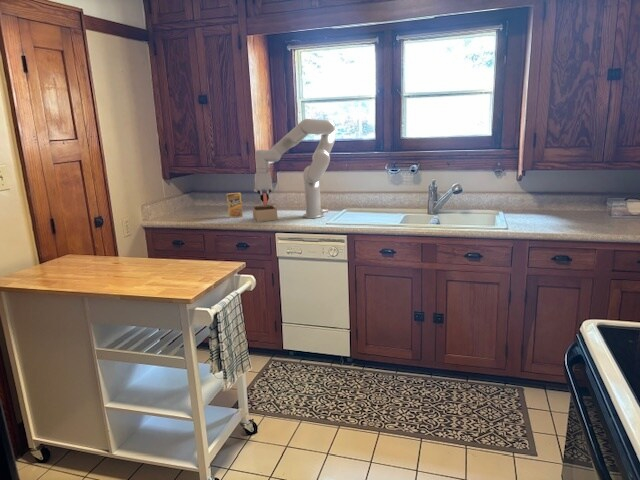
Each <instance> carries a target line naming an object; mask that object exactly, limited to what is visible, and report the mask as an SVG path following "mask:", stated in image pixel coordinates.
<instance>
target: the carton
mask: <svg viewBox="0 0 640 480" xmlns="http://www.w3.org/2000/svg"><path fill="white" fill-rule="evenodd" d="M252 217H253V219H254V221H255V222H256V223H261V221H262V222H269V220H272V221H278V210H277V208H276V206H275V205H271V206H260V207H253V206H252Z"/></svg>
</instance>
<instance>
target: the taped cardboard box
mask: <svg viewBox="0 0 640 480" xmlns="http://www.w3.org/2000/svg"><path fill="white" fill-rule="evenodd" d="M262 194H263V200H264V201H263V202H262V204H255V205H253V206H252V208H253V207H263V206H275V205H276V203H268V201H267V195H266V193H262Z"/></svg>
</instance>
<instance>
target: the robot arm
mask: <svg viewBox="0 0 640 480" xmlns="http://www.w3.org/2000/svg"><path fill="white" fill-rule="evenodd" d="M335 129H336V125H335V123H334V122H333V121H332V120H331V119H313V118H304V119H302V120H301V121H300V122H299V123H298V124H297V125H295V126H294V127H293V128H292V129H291V130H290V131H289V132H287V133H286V134H285V135H284V136H283V137H282V138H281V139H279V141H278V142H275V144H274V145H273V146H272V147H270V149H268V150H266V149H257V150H256V151H255V152H254V153H255V155H254V157H255V158H254V159H255V169H256V173H254V189H253V192H255V193H258V194H259V196H260V201H262V203H263V201H264V200H263V194H264V193H263V190H265V192H266V193H265V194H266V195H267V202H269V198H270V197H269V194H270V193H271V192H272V191H274V190H275V188H274V186H273V180H272V175H271V172H270V171H272V168H271V167H269V166H270V165H269V162H270V163H271V162H272V163H277V162H278V161H280V160H281V158H282V155H284V153H286V152H287V151H288V150H290V149H291V148H294V147H295V146H298V144H299V143H301V142H302V141H303V140H304V139H305V138H306V137H307V136H308V135H320V140H319V143H318V145H317V147H316V149H315V151H314V152H313V154H312V159H311V160H312V162H311V163H310V164H309V165H308V166H306V167H305V168H304V169H303V184H304V204H305V205H304V207H305V213H303V218H305V219H319V218H322V217H324V216H325V215H324V214H326V213H327V214H328V213H329V209H322V208H321V205H322V204H321V184H320V183H321V180H322V178H323V176H324V174H325V172H326V170H327V169H328V167H329V164H330V161H331V156H330V154H331V152H332V149H333V147H334V146H335V145H334V144H335V141H336V134H335Z"/></svg>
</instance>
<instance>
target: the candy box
mask: <svg viewBox="0 0 640 480" xmlns="http://www.w3.org/2000/svg"><path fill="white" fill-rule="evenodd" d="M225 195H226V204H227V205H226V206H227V215H228V218H229V219H231V218H243V217H244V216H243V203H242V193H241V192H231V193H226V194H225Z"/></svg>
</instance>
